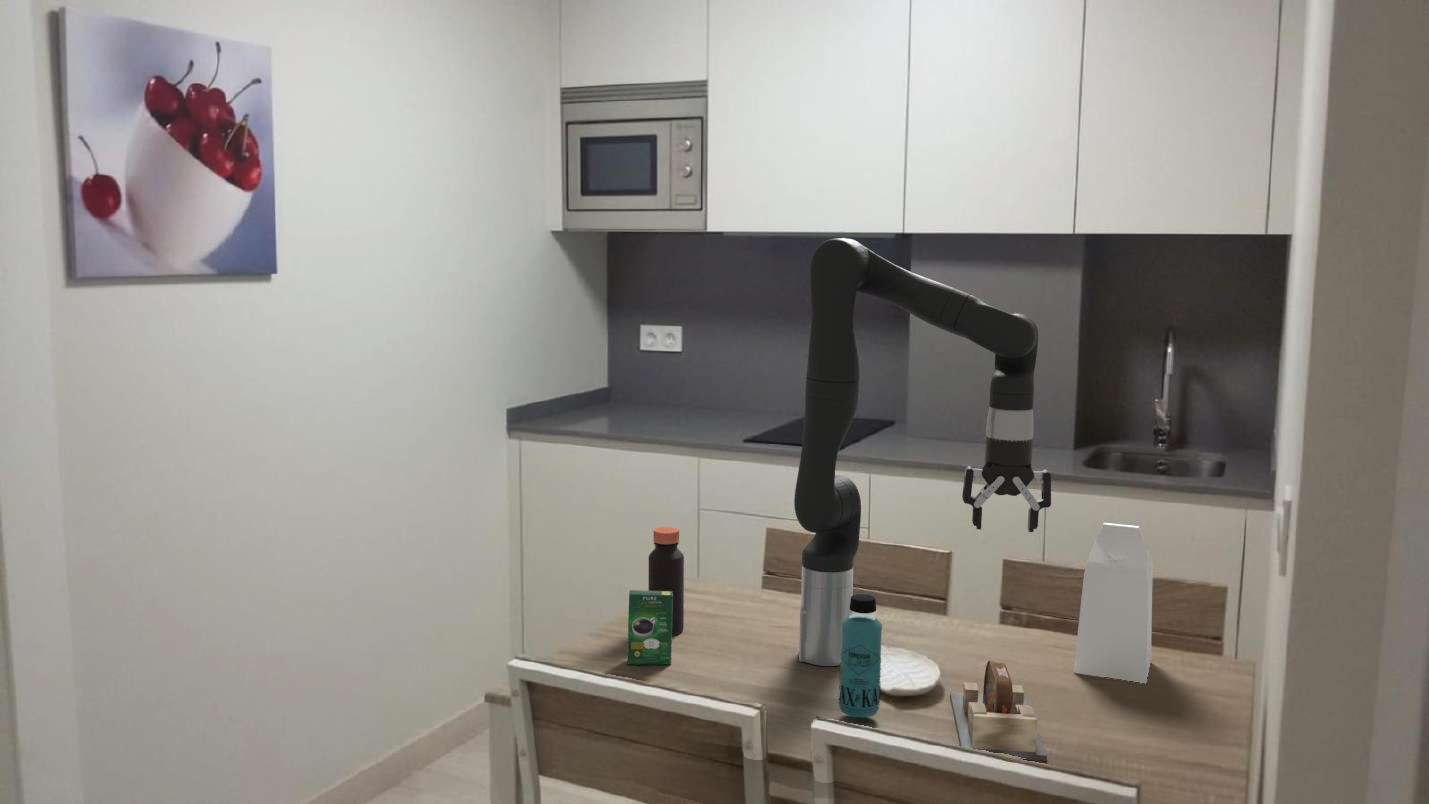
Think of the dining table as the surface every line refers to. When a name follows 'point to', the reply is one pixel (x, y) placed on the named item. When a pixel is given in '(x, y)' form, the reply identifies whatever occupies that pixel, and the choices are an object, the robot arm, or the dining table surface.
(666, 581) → the vinegar
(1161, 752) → the dining table surface
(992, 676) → the tin
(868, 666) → the beverage bottle
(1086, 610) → the milk
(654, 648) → the coffee box
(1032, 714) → the clip
